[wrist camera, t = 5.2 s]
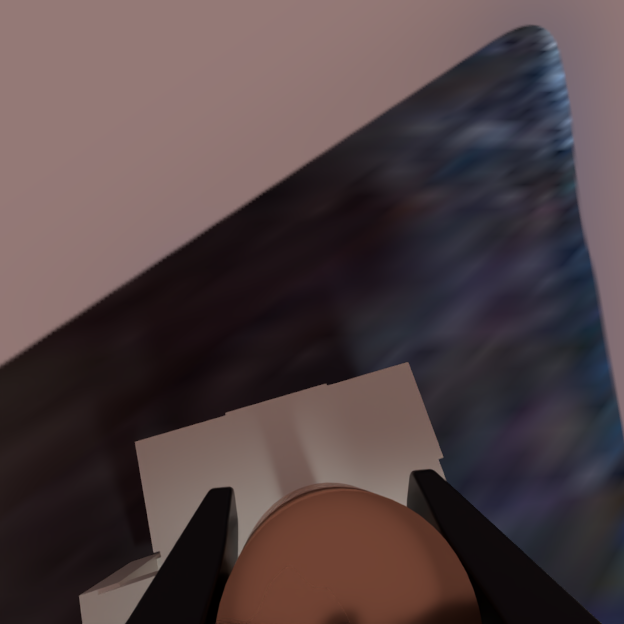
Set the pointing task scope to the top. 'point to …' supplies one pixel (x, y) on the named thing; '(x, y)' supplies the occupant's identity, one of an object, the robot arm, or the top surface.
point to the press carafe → (273, 465)
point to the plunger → (346, 565)
